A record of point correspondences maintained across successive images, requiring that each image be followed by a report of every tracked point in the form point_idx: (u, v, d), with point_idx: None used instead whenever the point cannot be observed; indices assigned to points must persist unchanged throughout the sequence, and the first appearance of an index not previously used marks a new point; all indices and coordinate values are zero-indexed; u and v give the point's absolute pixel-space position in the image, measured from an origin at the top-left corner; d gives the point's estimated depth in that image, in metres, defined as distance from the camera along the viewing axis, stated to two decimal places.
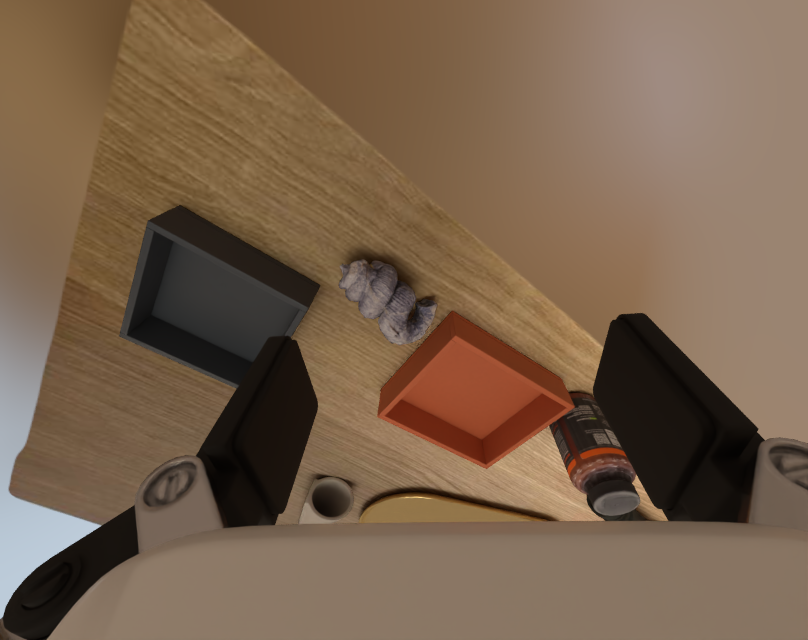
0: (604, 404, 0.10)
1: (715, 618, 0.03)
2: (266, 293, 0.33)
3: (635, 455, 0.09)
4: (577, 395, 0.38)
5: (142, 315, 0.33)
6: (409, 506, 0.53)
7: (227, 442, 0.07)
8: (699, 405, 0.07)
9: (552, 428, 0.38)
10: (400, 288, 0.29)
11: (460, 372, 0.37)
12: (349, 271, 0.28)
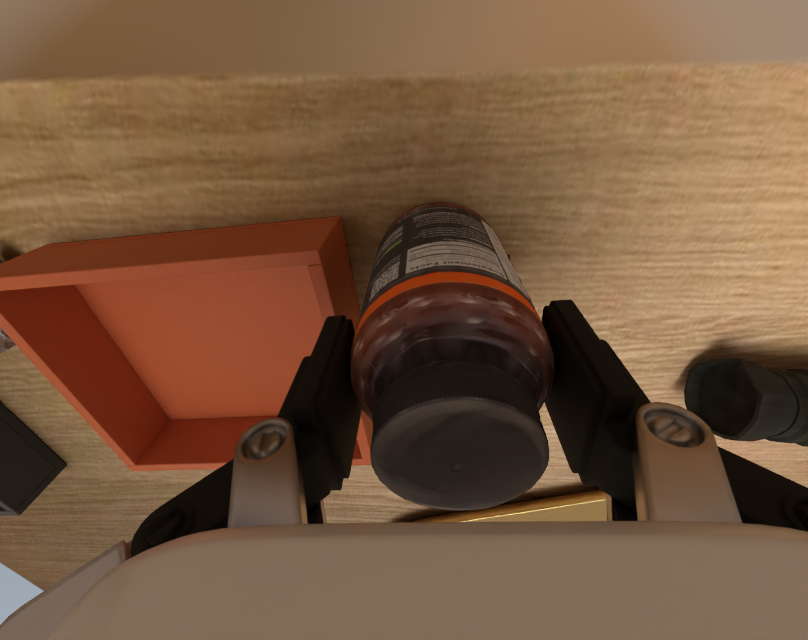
0: None
1: (715, 619, 0.03)
2: None
3: (560, 427, 0.10)
4: (393, 224, 0.15)
5: None
6: None
7: (312, 405, 0.08)
8: (596, 376, 0.08)
9: None
10: None
11: (188, 331, 0.20)
12: None
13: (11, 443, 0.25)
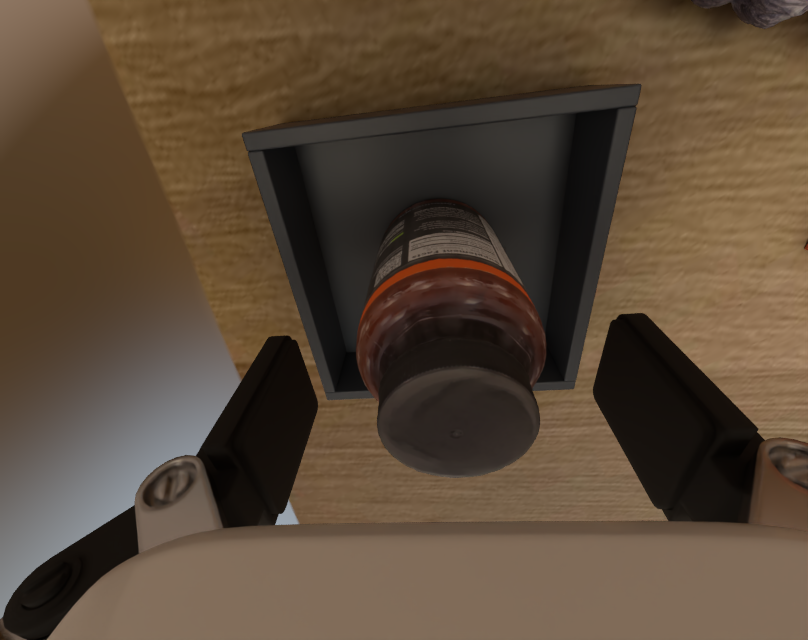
0: (604, 404, 0.10)
1: (715, 618, 0.03)
2: (493, 185, 0.16)
3: (635, 455, 0.09)
4: (394, 219, 0.16)
5: (337, 353, 0.20)
6: None
7: (227, 442, 0.07)
8: (699, 405, 0.07)
9: None
10: None
11: None
12: None
13: None
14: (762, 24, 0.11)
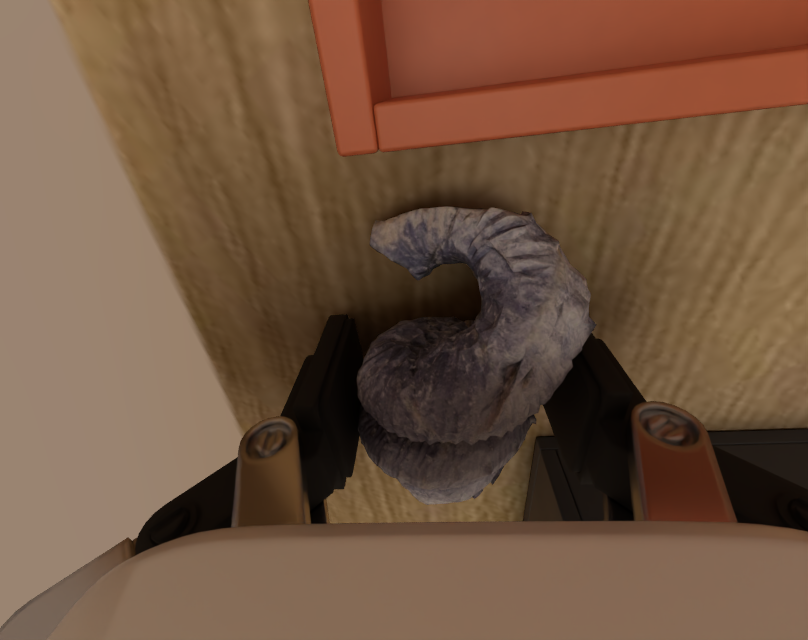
0: None
1: (715, 618, 0.03)
2: None
3: (556, 427, 0.10)
4: None
5: None
6: None
7: (316, 403, 0.08)
8: (591, 375, 0.08)
9: None
10: None
11: None
12: None
13: (792, 459, 0.12)
14: None
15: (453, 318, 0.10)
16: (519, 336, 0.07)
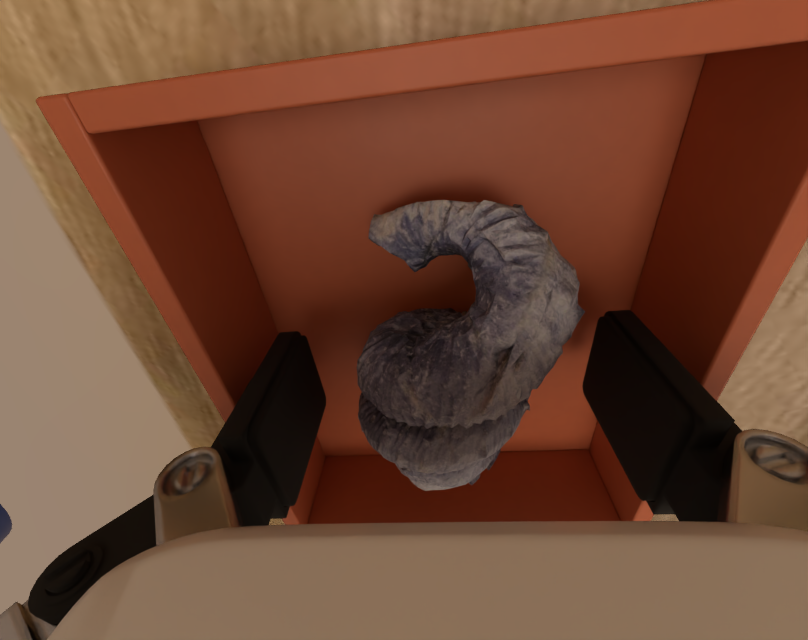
0: (592, 399, 0.10)
1: (715, 618, 0.03)
2: None
3: (621, 449, 0.09)
4: None
5: None
6: None
7: (242, 434, 0.07)
8: (679, 398, 0.07)
9: None
10: None
11: None
12: None
13: None
14: None
15: (450, 309, 0.11)
16: (510, 322, 0.07)
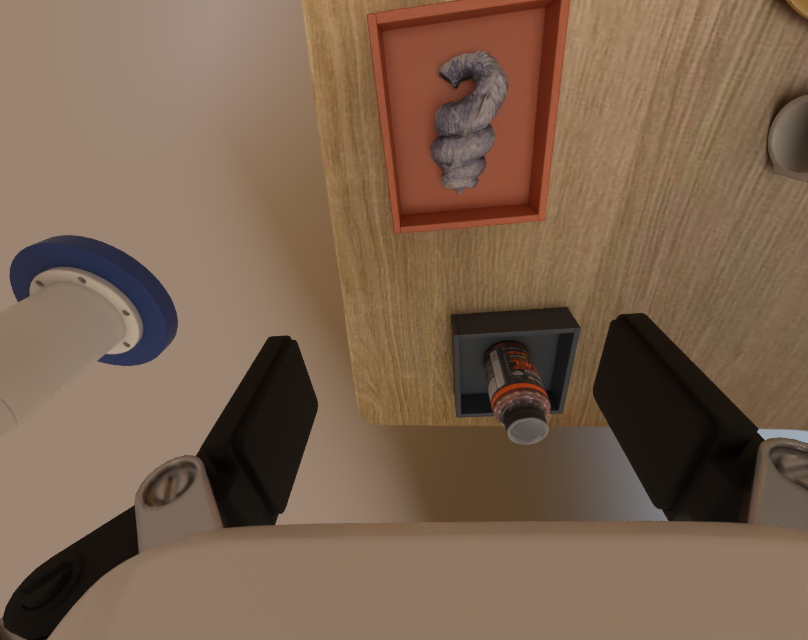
0: (604, 404, 0.10)
1: (715, 618, 0.03)
2: (480, 342, 0.42)
3: (635, 455, 0.09)
4: None
5: None
6: None
7: (227, 442, 0.07)
8: (699, 405, 0.07)
9: None
10: (438, 132, 0.27)
11: None
12: (453, 188, 0.29)
13: (528, 316, 0.39)
14: None
15: None
16: (485, 83, 0.25)
